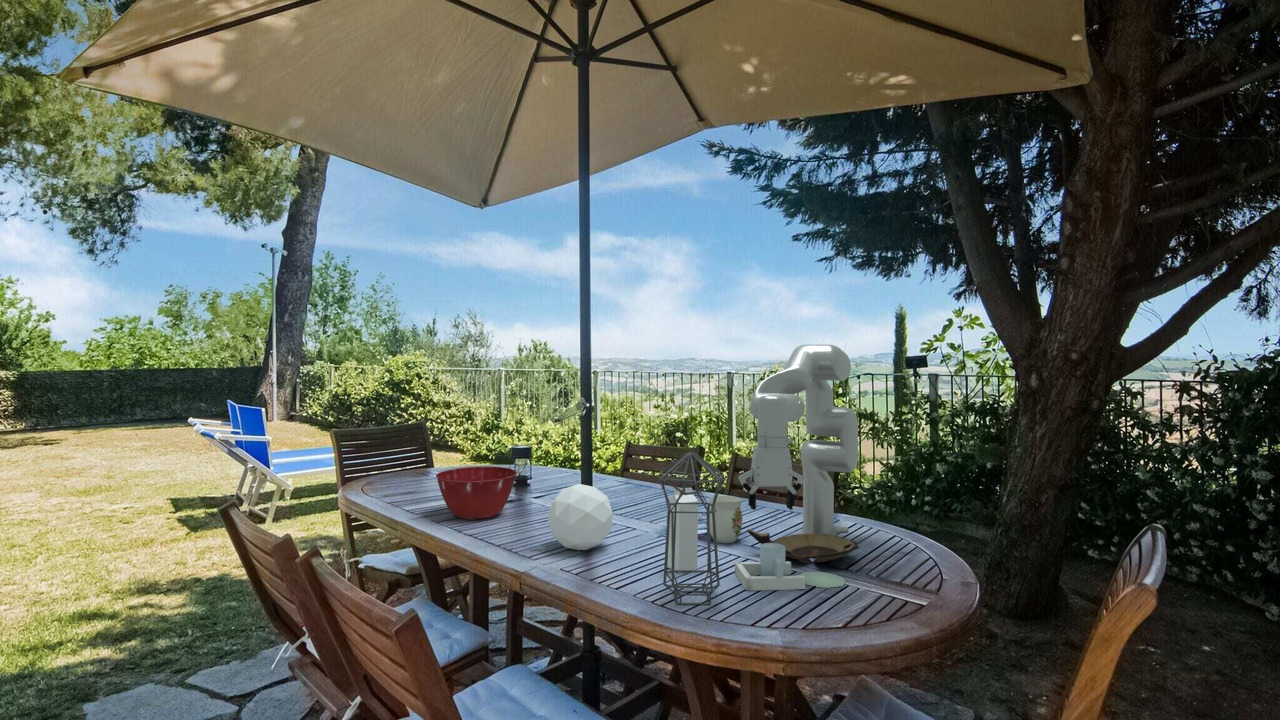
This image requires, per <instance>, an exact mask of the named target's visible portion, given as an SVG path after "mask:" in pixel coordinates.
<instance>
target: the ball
mask: <svg viewBox="0 0 1280 720" xmlns="http://www.w3.org/2000/svg"><path fill="white" fill-rule="evenodd" d="M547 520H548V524H549V528H550V531H551V534H552V537H553V538H554V539H555V540H556V541H557V542H558V543H560V544H561V545H562V546H563V547H565V548H567V549H572V550H574V551H575V550H576V551H580V550H585V551H587V550H590V549H592V548H595V547H597V546H600V545H601V544H602V542H603V541H604V540H605V539H606V538H607V536H608V535H609V533H610V532H611V531H612V523H613V510H612V507H611V503H610V500H609V497H608V495H606V494H605V493H603V492H602V491H601V490H599V489H598V488H596V487H595V486H591V485H586V484H582V483H581V484H580V483H577V484H574V485H571V486H568V487H565V488H563V489H561V490H560V491H559V493H558V494H557V496H556V497H555V498H554V500H553V501H552V502H551V504H550V508H549V512H548V516H547Z"/></svg>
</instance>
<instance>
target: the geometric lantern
mask: <svg viewBox="0 0 1280 720" xmlns="http://www.w3.org/2000/svg"><path fill="white" fill-rule="evenodd" d="M696 461H697V462H698V463H699V464H700V465H701V466H702V468H704V469H705V470H702V471H700V470H699V467H698V465H697V462H696ZM685 462H686V463H685ZM683 463H685V468H684V470H683V471H684V472H682V471H677V470H678V469H679V468H680V467H681V466H682V465H683ZM690 465H691V473H689V472H690ZM695 470H696V473H695ZM721 473H722V471H721V470H720V469H718V468H717V467H715V466H714V465H712V464H711V463H709V462H708V461H707V460H705V459H704V458H702V456H700V455H699V454H698V453H697V452H692V451H691V452H687V453H685V454H684V455H682V456H681V457H680V458H677V459H676V460H675V461H673V462H672V463H671V464H669V465H667V466H665V467H664V468H663V469H662V470H660V471H659V476H660V477H659V478H658V479H659V483H660V485H661V489H662V490H663V495H664V499H665V502H666V507H667V513H666V531H665V532H666V533H665V547H664V565H663V566H664V568H663V582H662V585H663V587H666V588H667V589H668V590H670V592H672V594H673V596H674V600H675V601H676V602H675V604H676V603H678V604H677V605H680V604H692V605H693V606H694V604H695V605H697V606H700V605H702V606H704V605H705V606H710V604H712V594H713V593H714V592H715V591H716V590H717V589H718V588H719V587H720V586H721V581H720V580H721V579H720V569H719V555H718V542H717V538H716V524H715V512H717V511H716V508H715V502H716V499H717V497H718V496H719V493H720V492H722V491H723V482H727V481H728V480H727V478H726V477H724V476H723V475H722V474H721ZM674 474H676V475H683V476H682V478H680V477H678V476H676V475H674ZM701 474H707V475H705V476H704V477H703V478H701ZM668 475H669V476H668ZM686 476H687V477H686ZM710 476H712V477H714V478H715V479H708V478H709V477H710ZM670 477H672V478H670ZM690 477H692V478H693V479H690ZM696 477H698V479H697V480H696ZM706 479H708V480H706ZM665 482H666V483H667V484H668V485H669V486H671V487H672V488H674V490H675V489H676V490H678V491H679V492H680V495H679V497H678V499H677V501H676V503H670V502H669V497H668V494H667V491H666V486H665ZM672 482H674V483H675V482H677V483H681V485H682V488H683V489H682V488H679V487H678V486H676V485H675V484H674V483H672ZM706 483H709V484H706ZM701 484H706V485H705V486H703V487H702V488H699V487H698V486H699V485H701ZM714 484H716V490H715V492H714V495H713V496H714V499H713V503H712V504H710V502H708V501H707V499H706V498H705V496H704V495H703V492H702V491H704V490H706V489H707V488H710V487H711V486H713V485H714ZM687 486H694V487H695V489H694V490H695V491H692V492H688V493H686V492H685V488H687ZM680 489H682V490H680ZM683 491H684V492H683ZM691 494H693V495H697V496H698V498H699V500H700V502H698V503H678V501H679V500H680V498H681V497H682V495H691ZM677 504H698V505H703V508H704V509H705V510H706V511H698V512H685V511H677ZM671 505H674V506H673V507H672V509H671ZM710 506H712V507H711V511H710ZM674 507H675V511H672V510H673V508H674ZM714 510H715V512H714ZM670 513H671V547H672V569H671V570H668V545H669V528H670ZM676 513H698V514H705V515H706V530H707V532H706V533H707V536H706V537H707V569H699V570H698V569H697V570H674V561H675V537H676ZM710 513H712V522H713V536H714V539H713V548H714V550H713V551H714V563H715V571H714V570H712V553H711V551H712V550H711V534H710ZM677 572H684V573H707V574H706V576H705V578H704V582H697V583H696V582H695V583H692V582H691V583H678V580H677V578H676V574H675V573H677ZM669 574H671V577H670V575H669ZM713 575H714V577H713ZM667 577H668V579H669V580H670V581H671V584H667ZM708 577H709V581H708V582H707V583H706V581H707V579H708ZM715 579H716V583H717V584H715V585H713V582H714V580H715ZM672 588H673V589H672ZM679 589H693V590H679ZM694 589H698V590H694ZM678 596H679V600H678ZM682 596H689V597H690V596H693V597H694V596H701V597H704V596H705V597H706V602H682ZM678 601H679V602H678Z"/></svg>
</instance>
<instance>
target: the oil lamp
mask: <svg viewBox="0 0 1280 720" xmlns="http://www.w3.org/2000/svg"><path fill="white" fill-rule="evenodd" d="M746 531H747V533H748V534H749V535H750V536H751V537H753V538H754V539H755V541H757V542H758V543H759V544H760V545H761V544H764V543H777V544H781V545H784V546H785V547H786V548H785V557H787V558H791V559H793V560H797V561H800V562H806V563H811V562H812V560H811V559H810V558H815V559H813V563H823V562H828V561H833V560H836V559H838V558H841V557H844V556H846V555H848V554H850V553H852V552H854V551H855V550H857V549H859V548H860V546H859V545H858V543H857V542H856V541H853V540H852V539H848V538H845V537H842V536H839V535H838V536H834V535H828V534H826V535H825V534H818V533H815V534H810V533H809V534H798V533H797V534H790V535H785V536H781V537H778V538H776V539H775V540H771V538H770V537H771V535H770V532H763V533H761V532H758V531H754V530H752V529H750V528H748V529H747V530H746Z"/></svg>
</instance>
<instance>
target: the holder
mask: <svg viewBox="0 0 1280 720" xmlns="http://www.w3.org/2000/svg"><path fill="white" fill-rule="evenodd" d="M734 575H735V576H736V578H737V579H738V581H739V582H740V584H741V585H742V586H743V588H744V590H745V591H746V592H748V591H749V592H750V591H789V590H790V591H797V590H796V589H798V591H799V589H805V590H806V585H805V577H804V576H798V575H792V562H791V561H786V560H785V576H783V578H777V577H776V576H760V561H735V562H734Z"/></svg>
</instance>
